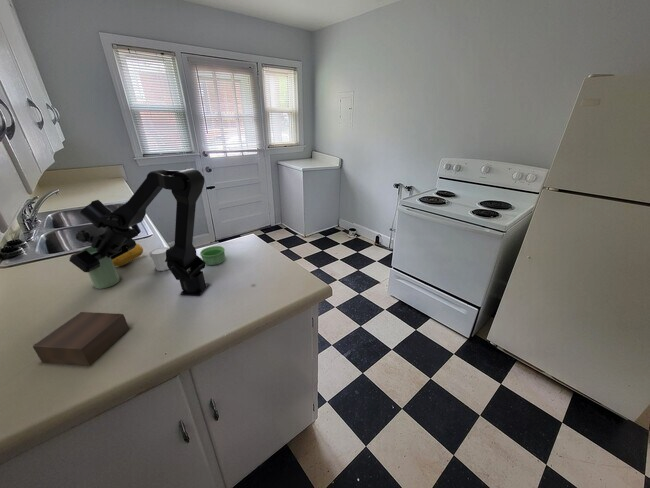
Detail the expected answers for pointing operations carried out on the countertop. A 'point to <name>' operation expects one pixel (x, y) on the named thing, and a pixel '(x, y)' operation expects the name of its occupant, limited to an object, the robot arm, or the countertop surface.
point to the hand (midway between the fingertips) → (96, 265)
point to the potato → (128, 256)
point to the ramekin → (213, 255)
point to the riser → (82, 338)
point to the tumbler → (103, 272)
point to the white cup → (159, 258)
